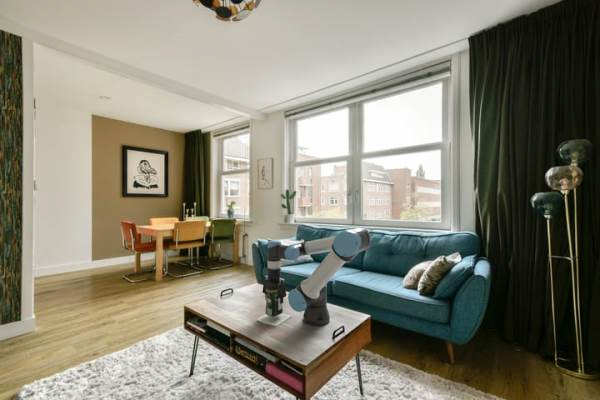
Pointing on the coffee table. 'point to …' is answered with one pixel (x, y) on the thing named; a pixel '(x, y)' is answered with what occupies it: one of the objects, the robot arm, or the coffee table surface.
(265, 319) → the plate
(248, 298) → the coffee table surface
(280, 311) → the coffee jar
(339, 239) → the robot arm
